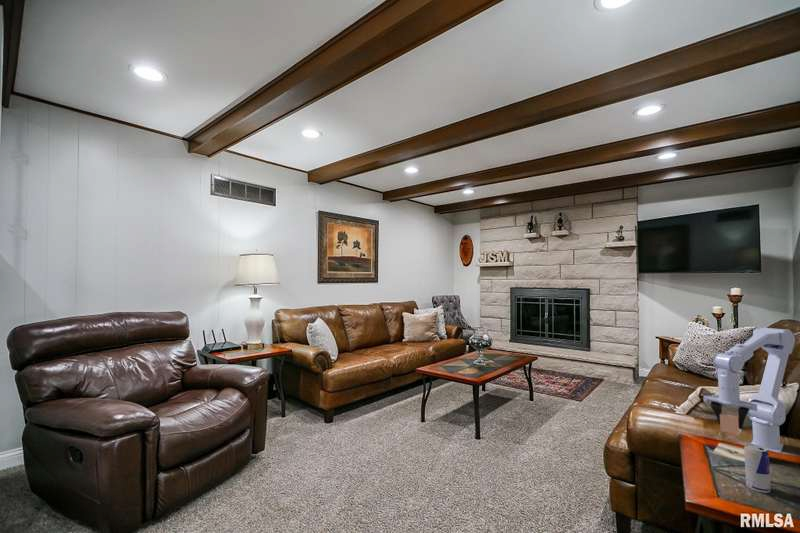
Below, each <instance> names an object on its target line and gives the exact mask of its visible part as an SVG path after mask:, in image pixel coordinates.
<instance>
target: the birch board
mask: <svg viewBox="0 0 800 533" xmlns="http://www.w3.org/2000/svg"><path fill="white" fill-rule="evenodd" d="M711 454H713V455H717V456H720V457H725V458H729V459H732V460H737V461H740V462H742V463H743V462H744V463H745V453H744V447H740V446H735V445H731V444H728V443H723V442H719V443H718V444H717V446H716V447H715V448H714V450H713V451H712V452H711Z"/></svg>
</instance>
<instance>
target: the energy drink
mask: <svg viewBox="0 0 800 533" xmlns="http://www.w3.org/2000/svg"><path fill="white" fill-rule="evenodd" d="M743 448H744V453H745V462H744V466H745V467H744V470H745V485H746V487H747V488H748V489H750V490H752V491H755V492H757V493H761V494H769V493H770V492H771V487H772V486H771V472H770V471H771V470H770V454H769V450H767V449H766V448H764V447H762V446H758V445H753V444H751V443H748V444H747V443H746V444H745V445H744V447H743Z"/></svg>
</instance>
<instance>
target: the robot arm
mask: <svg viewBox="0 0 800 533" xmlns="http://www.w3.org/2000/svg"><path fill="white" fill-rule="evenodd" d="M795 342H796V337H795V336H794V333H793V331H791V330H790V329H787V328H786V329H782V328H772V327H771V328H770V327H763V326H758V327H756V328H755V329H753V330H752V336H751V337H749V338H748V339H747V340H746V341H745V342H744V343H735V344H734V346H732V347H731V348H729V349H728V350H726V351H725V352H724V353H718V354H716V355H715V356H714V357H713V361H712V365H713V367H714V369H715V372H716V374H717V382H718V385H717V386H718V396H712V395H703V402H704V403H710V408H712V410H713V412H714V414H715V416H716V419H717V421H718V422H717V423H718V425H720V413H721V412H722V411H723V409H722V408H723V405H724V406H728V407H729V406H730V407H735V408H738V409H737V410H738V411H737V412H738V413H737V414H739V429H741V430H743V429H744V423H745V420H746V417H749V420H751V422H752V441H751V442H750V444H753V445H758V446H762V447H764V448H766V449H767V450H768V451H771V452H776V453H782V450H783V448H784V444H783V443H781V440H780V439H781V438H780V437H781V436H780V426H781V425H783V424H784V423H785V421H786V416H787V415H786V409H787V407H786V405H785V404H784V403H782V401H781V400H780V399H779V395H780V391H781V387H782V384H783V379H784V375H785V371H786V368H787V363H788V359H789V355H791V354H793V351H794V348H795ZM760 348H761V349H762V350H763V351H765V352H767V354H768V356H767V360H766V364H765V367H764V371H763V375H762V379H761V383H760V388H759V390H758V392H757V393H756V394H752V395H750V396H749V399H748V400H747V402H746V401H744V400H741V396H740V395H741V394H740V377H739V372H741V371H742V369H743V367H744V366H745V363H746V362H747V361H748V360H750V359H751V358H752V357H753V356H754V352H755V351H756V350H758V349H760Z"/></svg>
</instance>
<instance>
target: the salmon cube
mask: <svg viewBox="0 0 800 533" xmlns="http://www.w3.org/2000/svg"><path fill="white" fill-rule="evenodd" d="M719 426H720V427H719V428H720V429H719V430H720V432H723V433H728V434H730V435H731V434H732V435H736V436H740V434H741V433H742V429H739V413H735V412H731V411H725V410H722V412H721V413H720V424H719Z"/></svg>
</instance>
